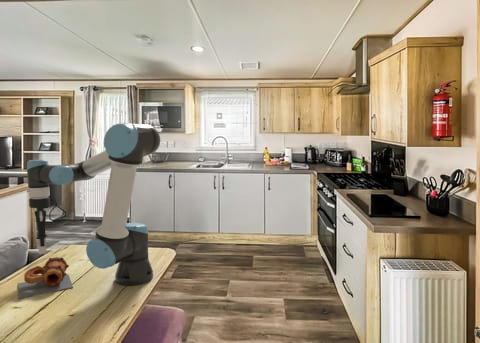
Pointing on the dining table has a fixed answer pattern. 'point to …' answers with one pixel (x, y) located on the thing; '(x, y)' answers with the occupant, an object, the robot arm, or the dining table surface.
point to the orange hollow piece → (48, 272)
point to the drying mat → (42, 288)
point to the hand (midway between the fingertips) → (42, 253)
